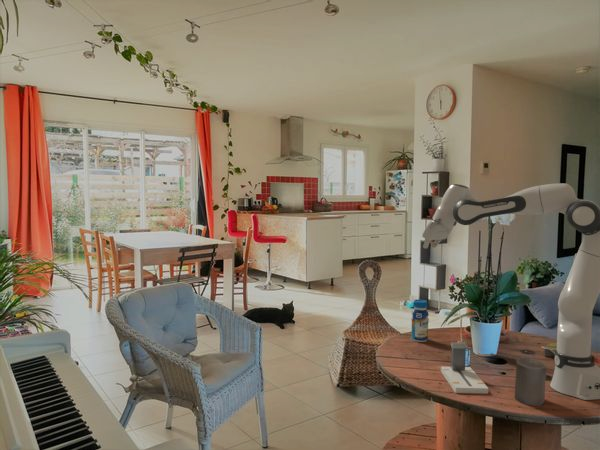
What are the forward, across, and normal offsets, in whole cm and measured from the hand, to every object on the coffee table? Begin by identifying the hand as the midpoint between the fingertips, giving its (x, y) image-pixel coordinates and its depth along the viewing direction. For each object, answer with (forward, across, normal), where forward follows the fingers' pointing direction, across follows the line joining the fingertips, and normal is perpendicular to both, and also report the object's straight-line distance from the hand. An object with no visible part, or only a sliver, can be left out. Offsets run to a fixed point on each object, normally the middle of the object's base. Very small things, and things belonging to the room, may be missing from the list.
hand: (429, 247), depth 201 cm
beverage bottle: (+51, +29, -7) cm, 59 cm away
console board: (+38, -10, -40) cm, 56 cm away
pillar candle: (+28, -11, -62) cm, 69 cm away
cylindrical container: (+38, +28, -36) cm, 59 cm away
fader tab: (+37, -4, -35) cm, 51 cm away
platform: (+26, +44, -60) cm, 79 cm away
